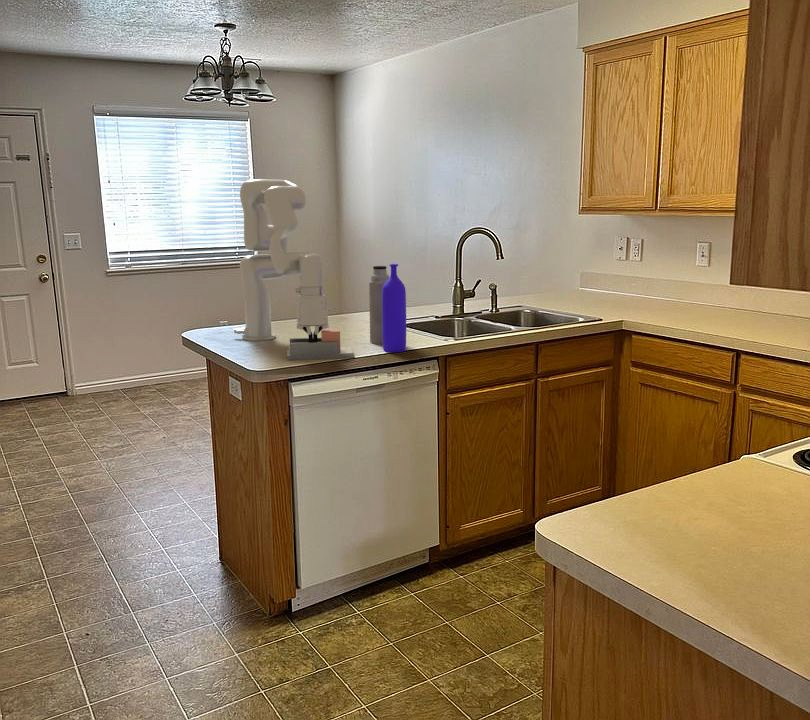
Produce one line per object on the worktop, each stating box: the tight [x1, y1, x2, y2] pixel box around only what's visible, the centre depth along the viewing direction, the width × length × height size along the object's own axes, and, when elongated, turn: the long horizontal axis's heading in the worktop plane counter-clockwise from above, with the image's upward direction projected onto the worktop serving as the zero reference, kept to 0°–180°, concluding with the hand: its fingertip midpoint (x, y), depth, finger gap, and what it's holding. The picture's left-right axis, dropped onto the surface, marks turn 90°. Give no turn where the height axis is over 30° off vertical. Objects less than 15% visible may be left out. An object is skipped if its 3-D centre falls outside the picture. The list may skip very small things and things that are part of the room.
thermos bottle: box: [368, 265, 390, 345], centre depth 272 cm, size 8×8×28 cm
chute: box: [286, 336, 355, 361], centre depth 251 cm, size 22×10×6 cm, turn 98°
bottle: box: [382, 263, 407, 353], centre depth 257 cm, size 8×8×30 cm
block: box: [320, 328, 341, 352], centre depth 251 cm, size 6×6×7 cm
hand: (313, 345), depth 250 cm, fingers closed
